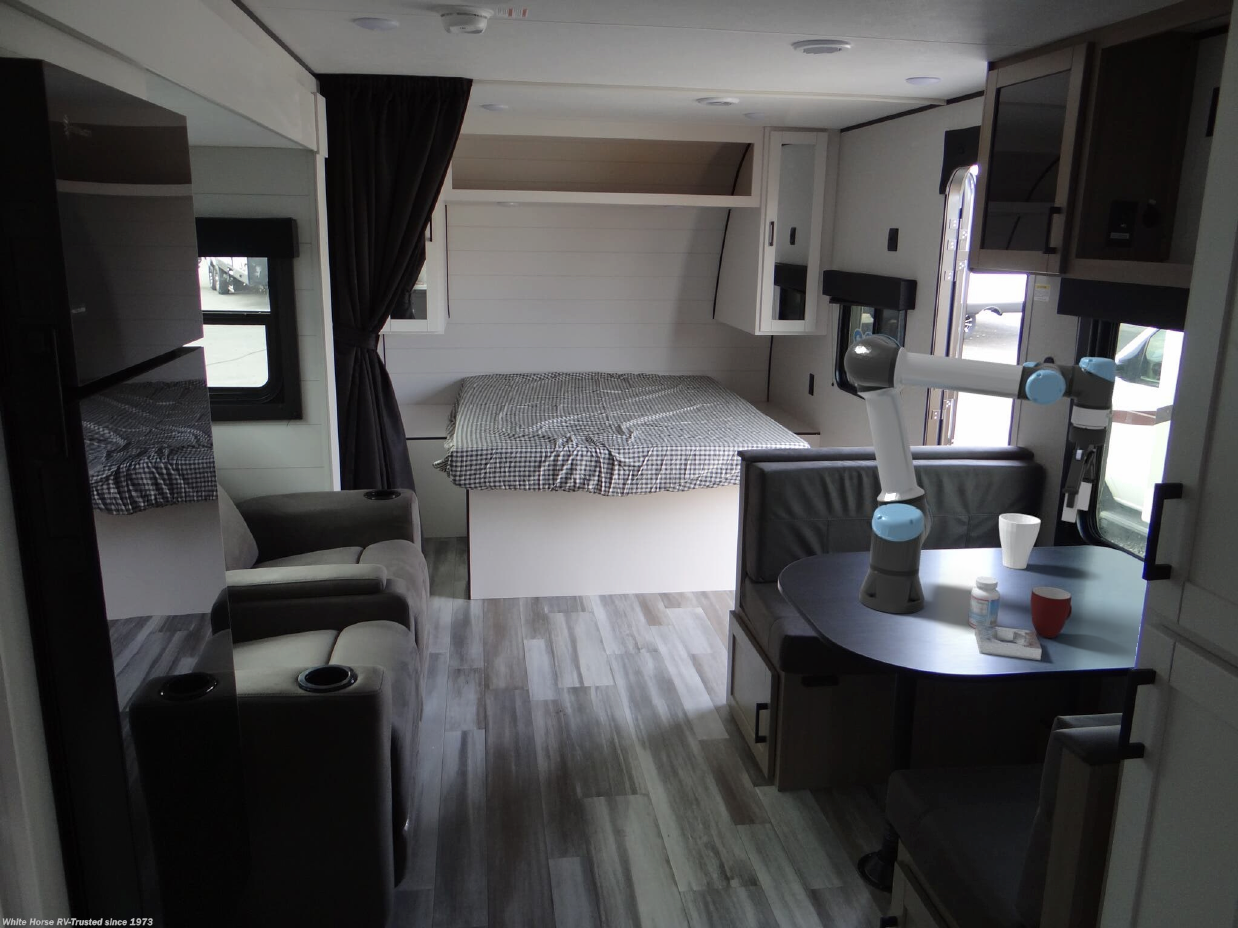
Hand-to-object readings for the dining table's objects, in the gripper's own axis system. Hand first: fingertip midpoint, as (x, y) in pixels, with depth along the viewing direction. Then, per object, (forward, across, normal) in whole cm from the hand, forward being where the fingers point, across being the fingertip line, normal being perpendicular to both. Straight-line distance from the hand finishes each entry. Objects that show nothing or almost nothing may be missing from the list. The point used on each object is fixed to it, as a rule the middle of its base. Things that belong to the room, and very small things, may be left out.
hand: (1074, 515), depth 216 cm
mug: (+24, -16, -1) cm, 29 cm away
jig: (+24, -30, +4) cm, 39 cm away
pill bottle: (+25, -22, +12) cm, 35 cm away
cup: (+25, +29, +18) cm, 42 cm away
